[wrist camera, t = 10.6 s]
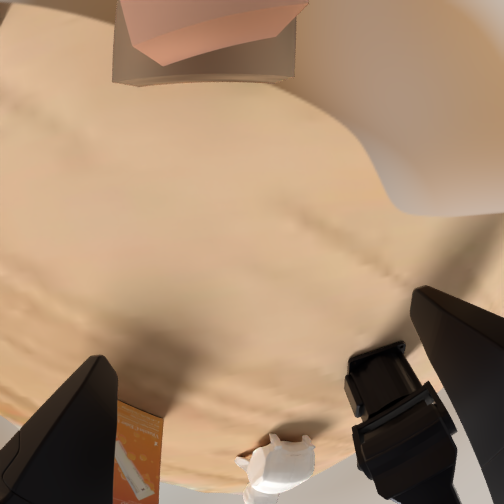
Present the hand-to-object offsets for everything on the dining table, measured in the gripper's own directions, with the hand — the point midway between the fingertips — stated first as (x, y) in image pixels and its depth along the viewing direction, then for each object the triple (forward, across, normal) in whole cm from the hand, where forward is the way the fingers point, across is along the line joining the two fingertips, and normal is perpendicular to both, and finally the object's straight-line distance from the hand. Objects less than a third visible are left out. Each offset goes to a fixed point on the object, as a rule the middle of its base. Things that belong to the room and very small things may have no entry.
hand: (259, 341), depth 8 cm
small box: (+13, +19, +21) cm, 31 cm away
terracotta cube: (+8, -1, -11) cm, 13 cm away
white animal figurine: (+14, +4, +37) cm, 40 cm away
